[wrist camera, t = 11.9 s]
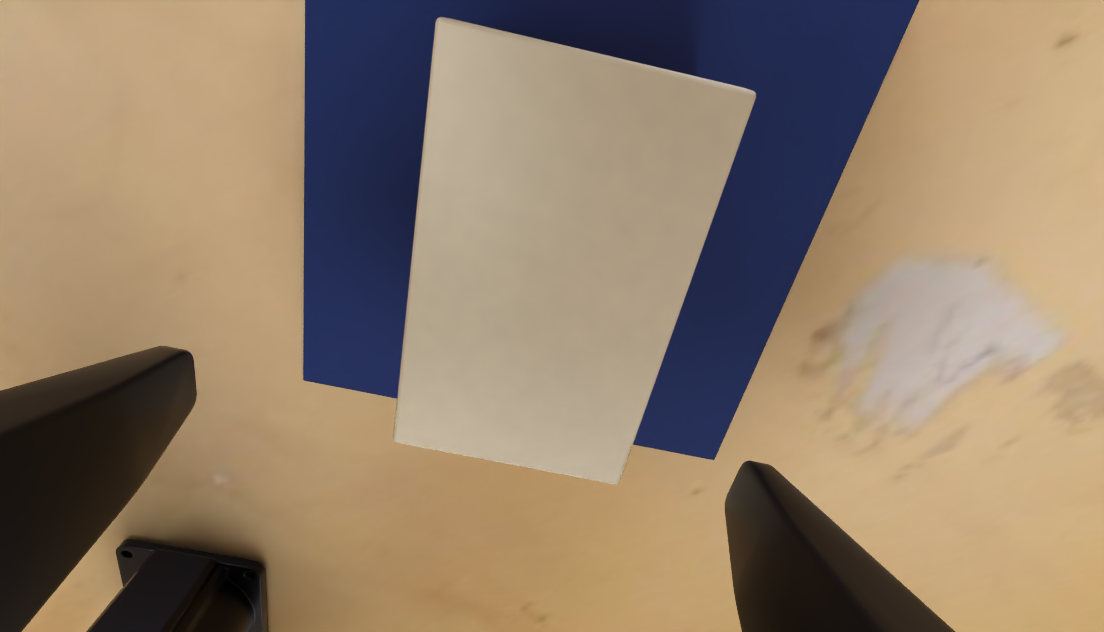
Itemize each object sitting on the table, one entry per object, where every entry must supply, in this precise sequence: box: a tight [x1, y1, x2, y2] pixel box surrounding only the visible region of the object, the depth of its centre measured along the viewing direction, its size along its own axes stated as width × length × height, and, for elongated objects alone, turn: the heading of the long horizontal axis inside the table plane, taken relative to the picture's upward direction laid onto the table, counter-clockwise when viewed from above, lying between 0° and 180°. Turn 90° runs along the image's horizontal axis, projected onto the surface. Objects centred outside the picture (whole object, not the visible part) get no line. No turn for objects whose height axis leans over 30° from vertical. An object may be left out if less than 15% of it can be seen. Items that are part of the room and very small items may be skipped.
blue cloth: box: [303, 0, 919, 460], centre depth 18 cm, size 16×16×1 cm
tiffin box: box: [393, 17, 756, 485], centre depth 15 cm, size 10×6×6 cm, turn 168°
